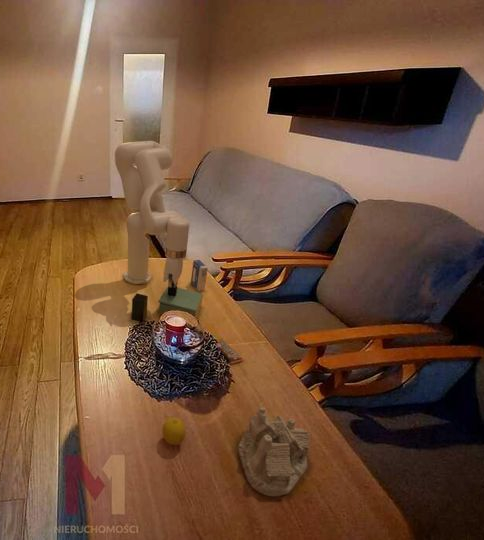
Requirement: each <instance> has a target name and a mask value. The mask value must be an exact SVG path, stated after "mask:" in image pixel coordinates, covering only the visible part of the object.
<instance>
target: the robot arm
mask: <svg viewBox="0 0 484 540" xmlns="http://www.w3.org/2000/svg"><path fill="white" fill-rule="evenodd" d="M133 164H135V166H134V165H133ZM172 164H173V155H172V153H171V151H170V150H169V148H167V147H166V146H165V145H163V144H160V143H158V142H156V141H154V140H142V141H130V142H124V143H121V144H119V145H118V146H117V147H116V148H115V150H114V165H115V167H116V170H117V173H118V174H119V176H120V179H121V185H122V190H123V194H124V200H125V204H126V207H127V209H129V210H139V211H138V212H132V213H131V214H129V215H128V216H127V217H126V220H125V225H126V231H127V268H126V269H127V271H126V272H125V273H124V274H123V279H124V281H126V282H127V283H130V284H133V285H143V284H145V283H148V282H150V280H151V279H152V274H151V273H150V272H149V266H150V264H149V261H150V248H151V247H150V245H151V244H150V241H149V239H148V237H146V235H147V234H148V235H150V236H157V235H162V234H166V240H165V253H164V256H165V257H166V259H165V263H164V264H165V265H164V269H163V270H164V271H163V277H162V281H163V283H167V286H168V293H167V294H168V295H171V296H176V294H177V287H178V285H179V284H178V282H179V280H180V278H181V276H182V274H183V267H184V259H186V258H187V252H188V244H189V243H188V242H189V235H190V221H189V220H188V219H186V218H183V217H182V216H181V215H180V213H178V212H177V211H166V209H165V204H164V203H165V202H164V197H163V193H162V191H163V190H165V188H166V187H167V182H166V179H165V177H164V174H163V171H165V170H169V169H170V168H171V166H172Z"/></svg>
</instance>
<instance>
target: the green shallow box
mask: <svg viewBox="0 0 484 540" xmlns="http://www.w3.org/2000/svg"><path fill="white" fill-rule="evenodd" d="M203 297H204V295H203V296H202V298H201V301H200V303H199V305H198V308H197V310H196V312H193V311H189V310H186V309H182V308H178V307H174V306H171V305H167V304H163V303H159V307H158V308H159V309H158V315H160V316H162V315H161V314H162V313H163V312H165V311H168V310H180V311H185V312H188V313H191V314H192V315H194V316H195V317H196V319H197V317H198V316H199V313H200V310H201V308H202V305H203Z"/></svg>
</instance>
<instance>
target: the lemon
mask: <svg viewBox="0 0 484 540" xmlns="http://www.w3.org/2000/svg"><path fill="white" fill-rule="evenodd" d="M162 436H163V439H164V440H165V442H166V443H167V444H169V445H172V446H178V445H180V444H182V443H183V441H184V440H185V438H186V426H185V424H184V422H183V420H182V419H180V418H178V417H175V416H171V417H169V418H167V419H166V420H165V421H164V423H163V425H162Z"/></svg>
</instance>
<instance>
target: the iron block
mask: <svg viewBox="0 0 484 540" xmlns="http://www.w3.org/2000/svg"><path fill="white" fill-rule="evenodd" d="M148 298H149V296H148V295H146V294H141V293H138V292H137V293H135V294H134V296H133V297H132V298H131V320H132V321H136V322H138V323H144V321H145V320H146V318H147V316H148V300H149V299H148Z"/></svg>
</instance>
